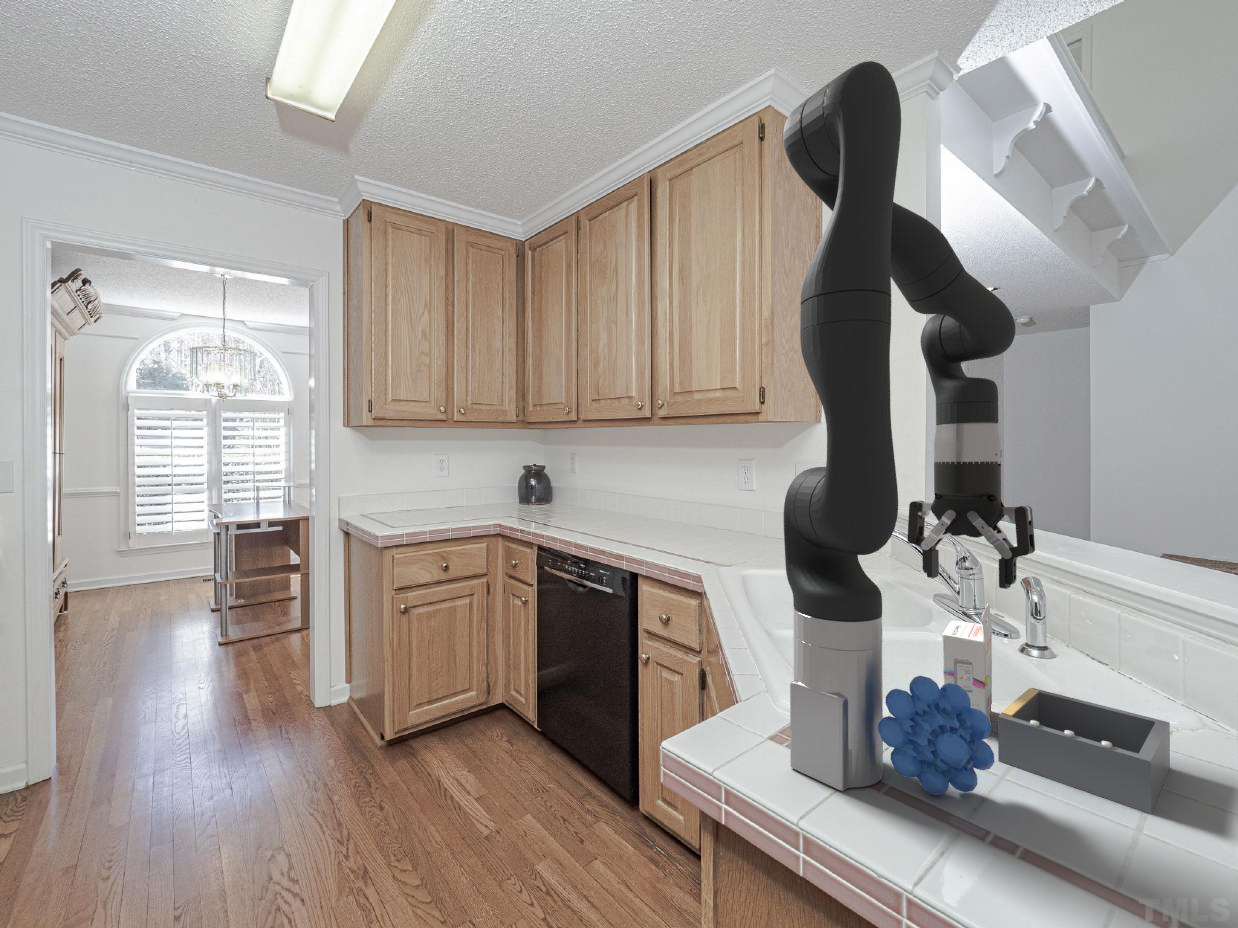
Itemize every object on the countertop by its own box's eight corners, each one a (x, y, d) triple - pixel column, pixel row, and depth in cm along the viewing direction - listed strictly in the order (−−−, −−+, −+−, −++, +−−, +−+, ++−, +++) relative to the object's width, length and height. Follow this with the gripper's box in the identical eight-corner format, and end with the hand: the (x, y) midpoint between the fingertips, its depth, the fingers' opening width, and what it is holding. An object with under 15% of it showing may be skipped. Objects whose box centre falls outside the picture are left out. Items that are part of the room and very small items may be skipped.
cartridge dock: (1150, 813, 54) (1150, 757, 54) (998, 760, 64) (998, 712, 64) (1169, 767, 62) (1169, 718, 62) (1032, 726, 72) (1031, 684, 72)
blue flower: (900, 821, 53) (900, 693, 53) (868, 780, 60) (867, 667, 60) (1023, 819, 53) (1023, 692, 53) (977, 779, 60) (977, 666, 60)
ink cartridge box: (950, 702, 79) (950, 597, 79) (993, 711, 76) (992, 602, 76) (941, 724, 72) (941, 610, 72) (987, 736, 69) (987, 616, 69)
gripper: (898, 459, 77) (899, 577, 77) (1021, 458, 66) (1022, 596, 66) (921, 459, 82) (922, 570, 82) (1040, 458, 71) (1041, 586, 71)
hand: (967, 582), depth 74 cm, fingers open, 8 cm apart
